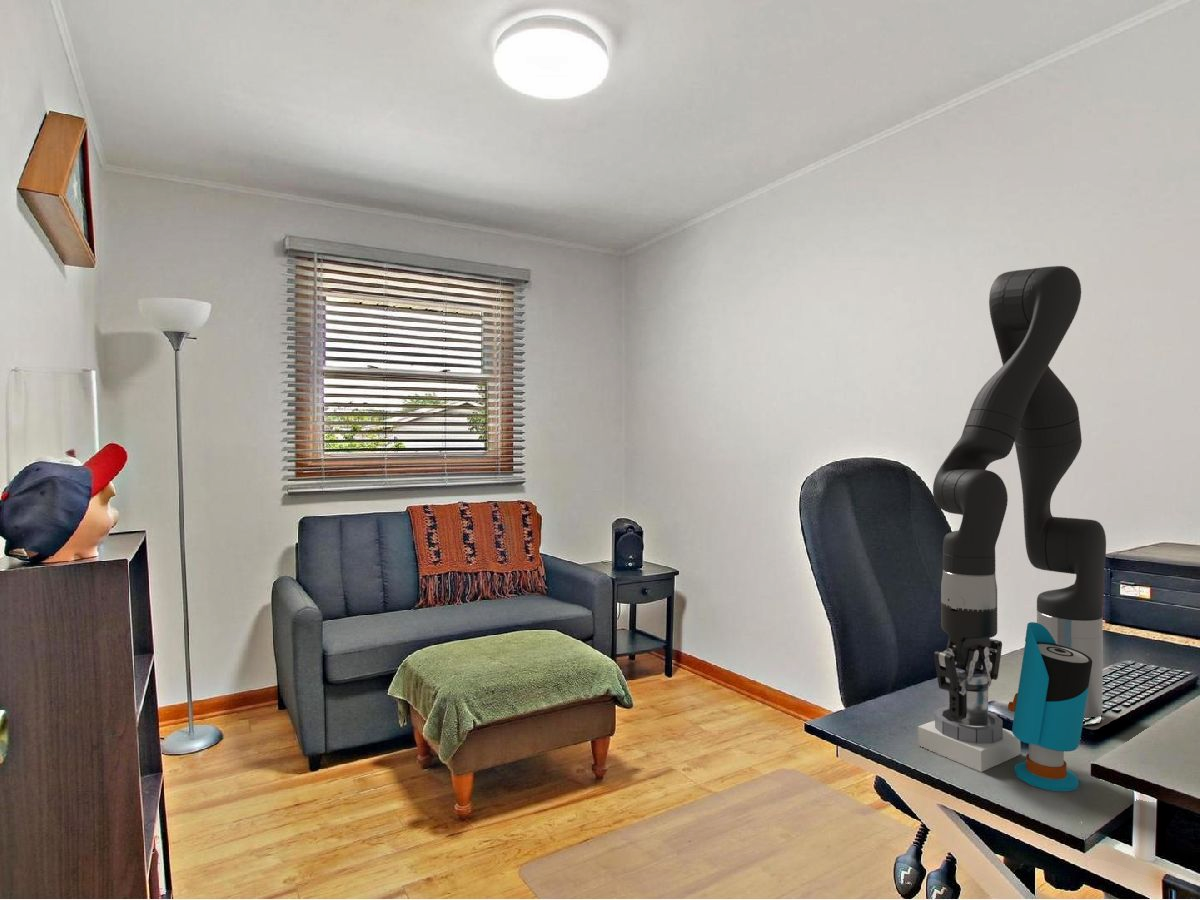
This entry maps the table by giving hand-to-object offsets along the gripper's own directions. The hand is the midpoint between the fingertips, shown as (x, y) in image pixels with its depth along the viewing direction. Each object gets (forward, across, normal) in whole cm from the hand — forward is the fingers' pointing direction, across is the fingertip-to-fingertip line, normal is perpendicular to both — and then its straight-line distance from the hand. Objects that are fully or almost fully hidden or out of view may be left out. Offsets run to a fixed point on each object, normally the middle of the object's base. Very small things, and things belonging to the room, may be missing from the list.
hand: (968, 712), depth 108 cm
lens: (+1, 0, 0) cm, 1 cm away
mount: (+6, 0, 0) cm, 6 cm away
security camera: (+6, -1, +11) cm, 12 cm away
